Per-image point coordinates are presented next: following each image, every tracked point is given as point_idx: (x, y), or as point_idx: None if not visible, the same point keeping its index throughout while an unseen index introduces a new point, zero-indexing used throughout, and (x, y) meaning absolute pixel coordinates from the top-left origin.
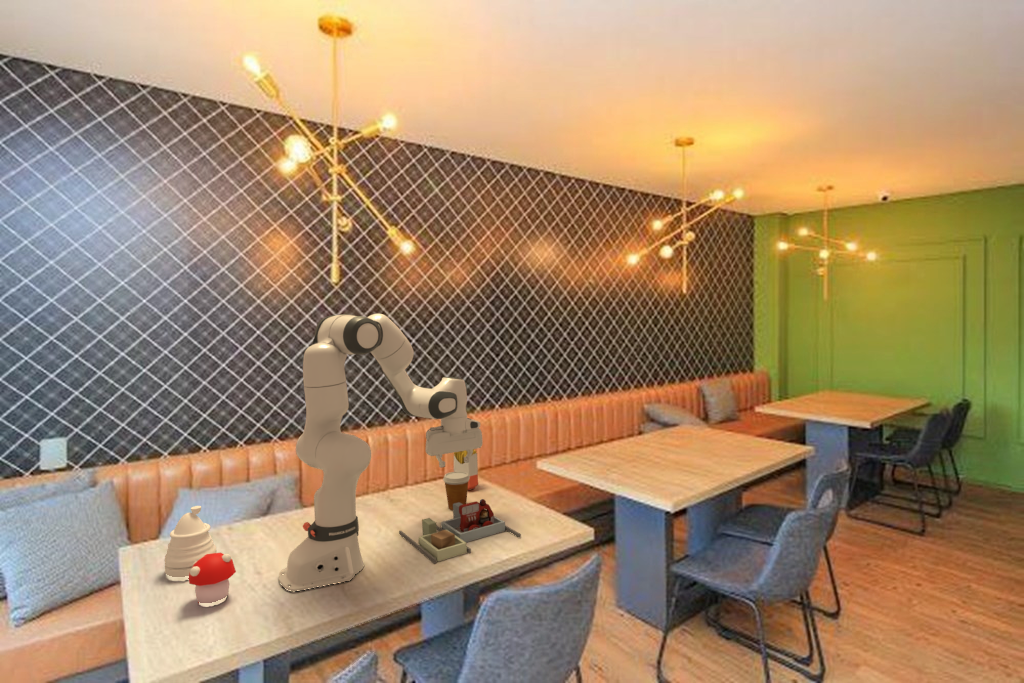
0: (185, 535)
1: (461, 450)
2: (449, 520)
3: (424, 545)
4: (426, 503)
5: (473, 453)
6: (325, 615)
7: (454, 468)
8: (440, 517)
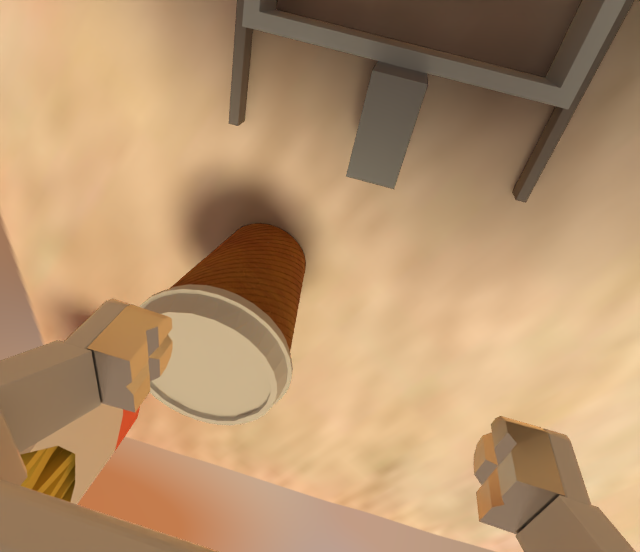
0: None
1: (150, 547)
2: (518, 83)
3: None
4: (326, 375)
5: None
6: None
7: (107, 456)
8: (401, 238)
